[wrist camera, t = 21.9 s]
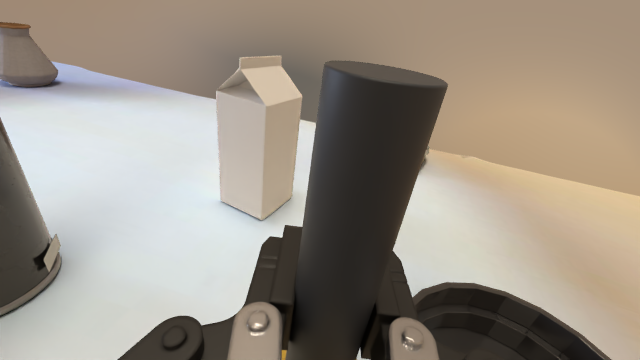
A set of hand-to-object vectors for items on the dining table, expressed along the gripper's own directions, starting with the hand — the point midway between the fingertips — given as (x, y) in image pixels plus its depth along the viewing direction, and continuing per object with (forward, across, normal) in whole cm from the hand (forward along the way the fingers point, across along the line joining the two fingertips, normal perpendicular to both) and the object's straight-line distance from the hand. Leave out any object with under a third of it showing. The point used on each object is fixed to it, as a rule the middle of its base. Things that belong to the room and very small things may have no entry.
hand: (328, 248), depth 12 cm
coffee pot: (+64, +77, +15) cm, 101 cm away
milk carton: (+25, +8, +16) cm, 31 cm away
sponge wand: (-3, 0, +11) cm, 11 cm away
